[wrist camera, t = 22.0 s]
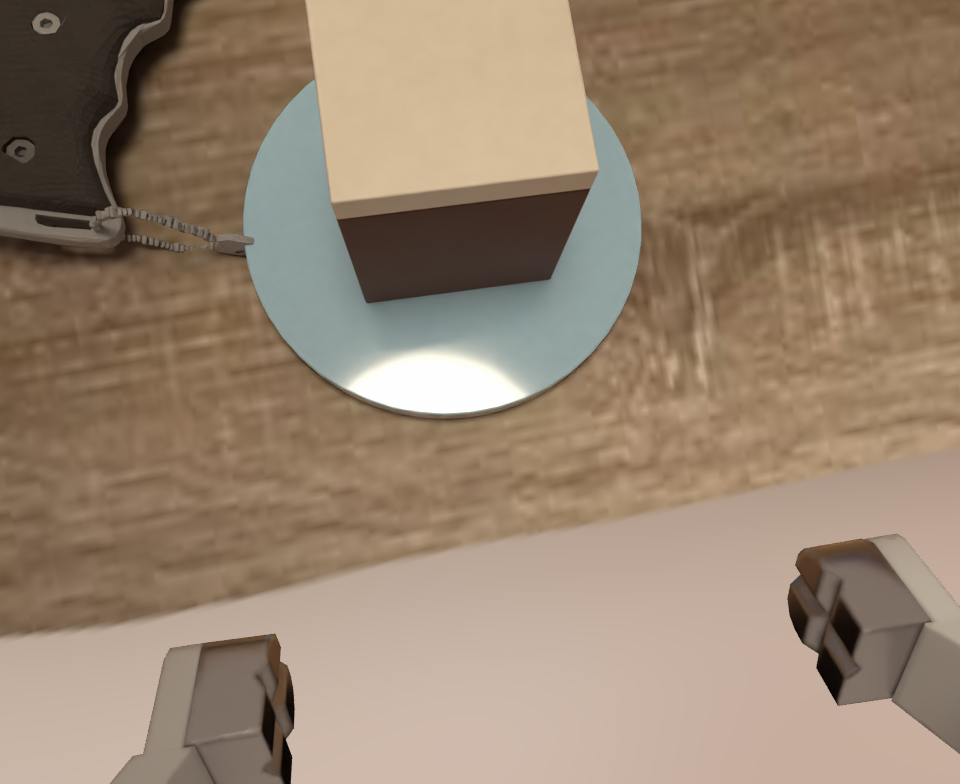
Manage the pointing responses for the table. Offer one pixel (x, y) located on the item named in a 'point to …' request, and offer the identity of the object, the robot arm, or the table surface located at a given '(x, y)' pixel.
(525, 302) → the plate
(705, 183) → the table surface
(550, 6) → the cake slice
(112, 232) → the knife
